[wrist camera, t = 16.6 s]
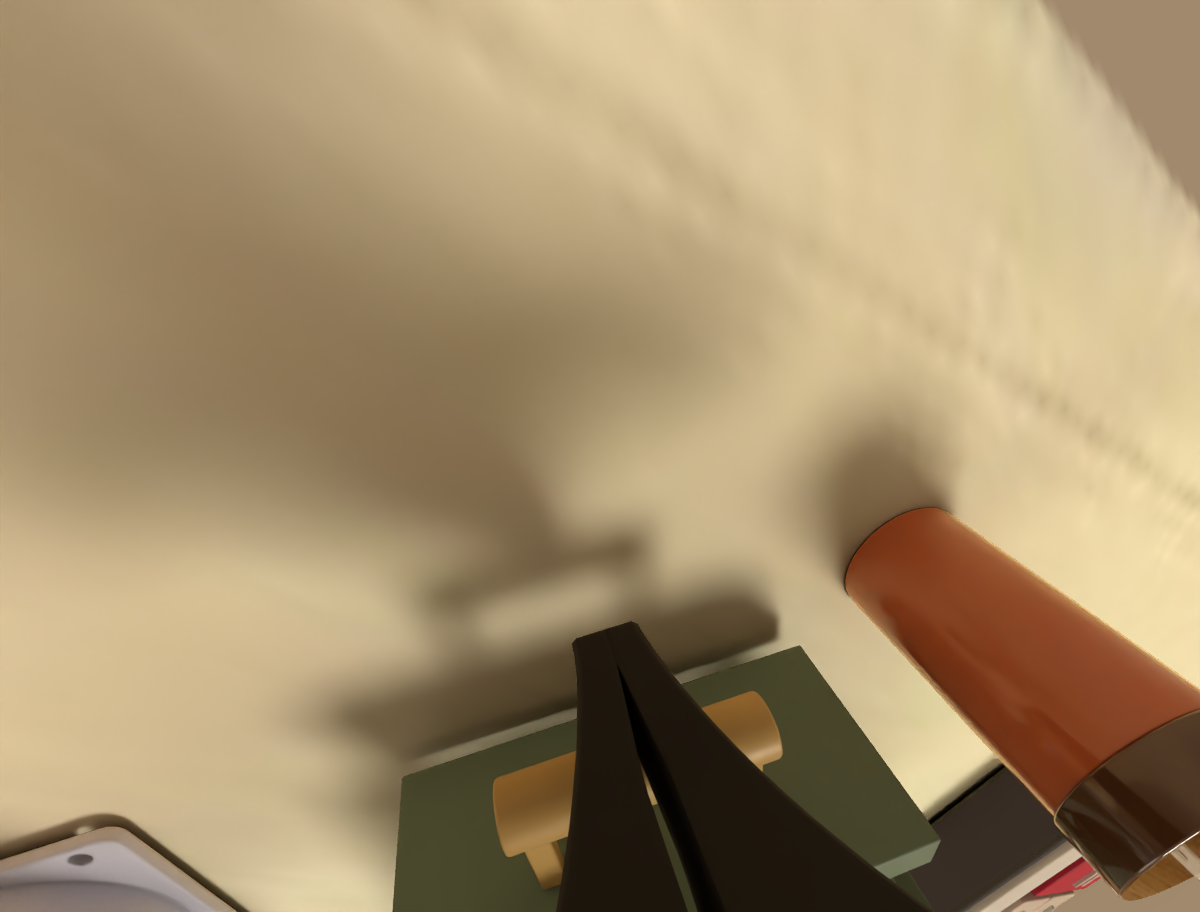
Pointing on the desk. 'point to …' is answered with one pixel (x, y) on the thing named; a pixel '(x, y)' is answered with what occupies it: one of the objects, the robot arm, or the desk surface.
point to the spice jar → (1046, 694)
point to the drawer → (545, 787)
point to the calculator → (1001, 855)
